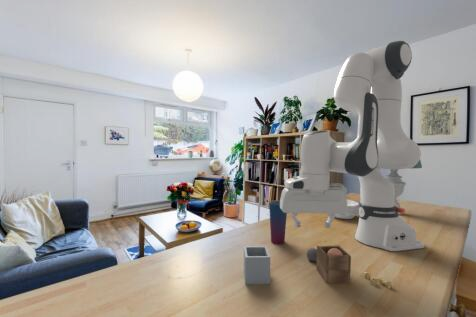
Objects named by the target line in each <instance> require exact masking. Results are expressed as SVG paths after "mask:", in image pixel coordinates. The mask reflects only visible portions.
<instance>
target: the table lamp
mask: <svg viewBox="0 0 476 317" xmlns="http://www.w3.org/2000/svg"><path fill="white" fill-rule="evenodd" d="M422 167H423V166H422V161H421V159H420V160H419V162H418V163H417V164H416V165H415V166H414V167H412V168H411V169H422ZM389 171H390V173H388V174H386V175H385V177H386V179H387V180H389V181H390V182H392V184H393V185H394V188H395V196H394V206H396V207H397V208H399V207H400V205H401V204H400V203H399V202H398V199H397V198H398V197H400V196H401V195H402V194H403V193H404V192H405V187H406V185H407V183H406V182H405V181H403V180H402V179H403V176H402V175H399V173H398V171H399V169H397V170H396V169H389ZM398 215H399V216H400V215H401V216H402V215H403V214H401V213H399V212H398Z"/></svg>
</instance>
